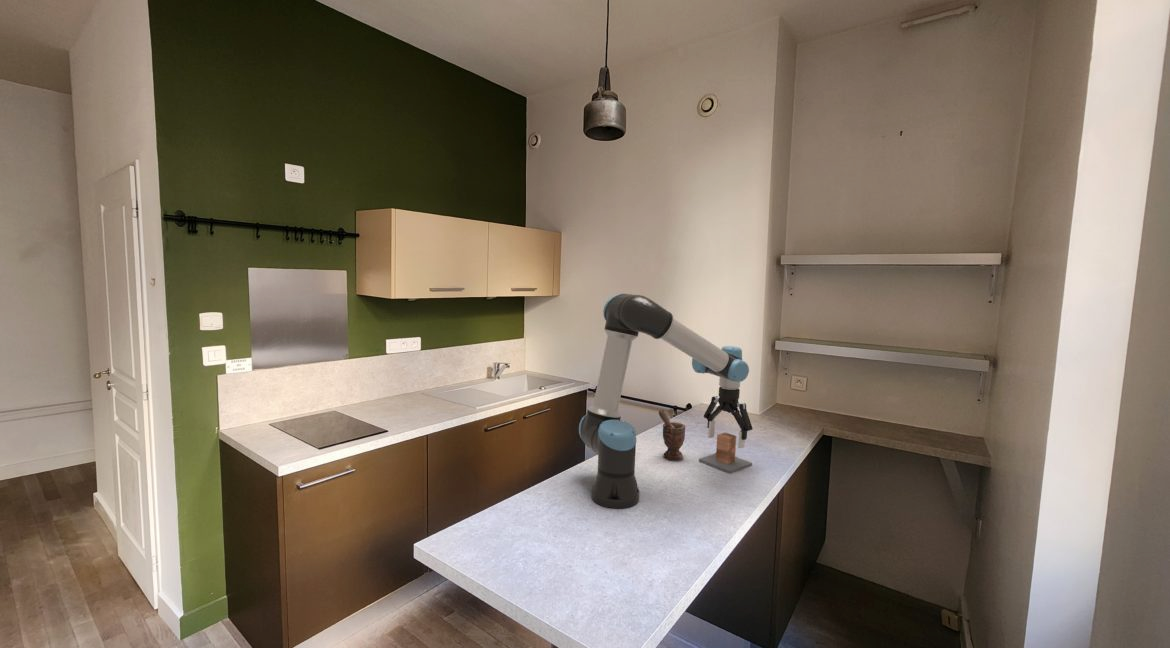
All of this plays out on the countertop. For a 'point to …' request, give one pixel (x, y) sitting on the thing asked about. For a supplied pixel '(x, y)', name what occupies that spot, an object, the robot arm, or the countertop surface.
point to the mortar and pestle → (672, 437)
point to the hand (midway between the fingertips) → (725, 442)
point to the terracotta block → (726, 448)
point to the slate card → (724, 467)
